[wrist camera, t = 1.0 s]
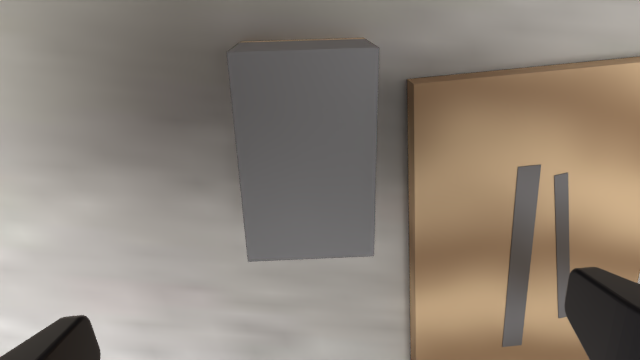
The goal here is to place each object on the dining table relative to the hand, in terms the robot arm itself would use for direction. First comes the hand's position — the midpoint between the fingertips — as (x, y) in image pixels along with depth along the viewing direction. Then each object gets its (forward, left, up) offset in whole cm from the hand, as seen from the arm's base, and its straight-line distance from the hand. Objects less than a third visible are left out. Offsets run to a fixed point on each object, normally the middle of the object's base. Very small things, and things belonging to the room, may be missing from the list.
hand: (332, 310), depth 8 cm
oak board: (-7, -10, -12) cm, 17 cm away
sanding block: (0, 0, -12) cm, 12 cm away
